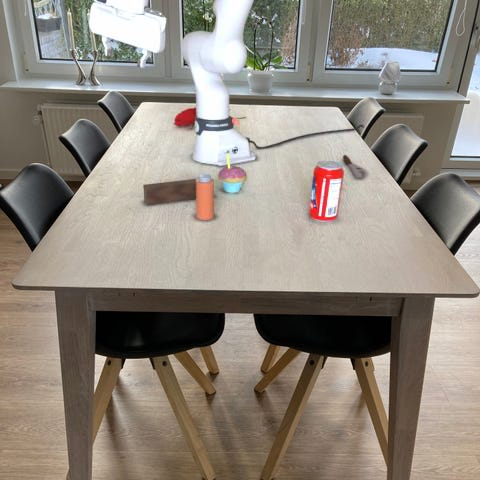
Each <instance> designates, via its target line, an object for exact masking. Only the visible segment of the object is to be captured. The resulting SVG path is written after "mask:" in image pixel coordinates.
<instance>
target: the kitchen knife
mask: <svg viewBox="0 0 480 480" xmlns="http://www.w3.org/2000/svg"><path fill="white" fill-rule="evenodd" d="M342 158H343V162H344V163H345V165H346V166H348V167H349V170H350V171H351V173H352V175H353V176H354V178H355V179H362V178H364V177H365V172H364V170H363V168H362V167H360V166H359V165H357V164H355V163H352V161H351V158H350V157H349V156H348V155H347V154H344V155H342Z"/></svg>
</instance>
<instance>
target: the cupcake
mask: <svg viewBox="0 0 480 480" xmlns="http://www.w3.org/2000/svg"><path fill="white" fill-rule="evenodd" d="M226 155H227V163H228V165H227V166H223V167H222V168H221V169H220V170H219V171H218V180H219V181H220V182H221V184H222V186H223V190H224V192H226V193H229V194H235V193H239V192H240V191H241V188H242V185H243V183H244V182H246V181H247V178H248V176H247V172H246V171H245V169H244V168H242V167H241V166H237V165H231V164H230V162H229V154H228V153H227V154H226Z"/></svg>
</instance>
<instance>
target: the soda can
mask: <svg viewBox="0 0 480 480" xmlns="http://www.w3.org/2000/svg"><path fill="white" fill-rule="evenodd" d="M344 175H345V170H344V169H343V164H342V163H340V162H339V161H335V160H320V161H317V163H316V166H315V167H314V168H313V172H312V181H311V191H310V200H309V208H308V216H309V217H310V218H311V219H313V220H314V221H316V222H318V223H319V222H320V223H330V222H333V221H335V220H336V219H337V218H338V215H339V210H340V201H341V197H342V196H341V195H342V188H343V182H344Z"/></svg>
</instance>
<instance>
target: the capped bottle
mask: <svg viewBox="0 0 480 480" xmlns="http://www.w3.org/2000/svg"><path fill="white" fill-rule="evenodd" d="M195 179H196V199H195V217H196V218H197V219H198V220H201V221H207V220H212V219H214V217H215V180H214V179H213V178H212V175H211V174H208V173H201V174H198V178H195Z"/></svg>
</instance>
